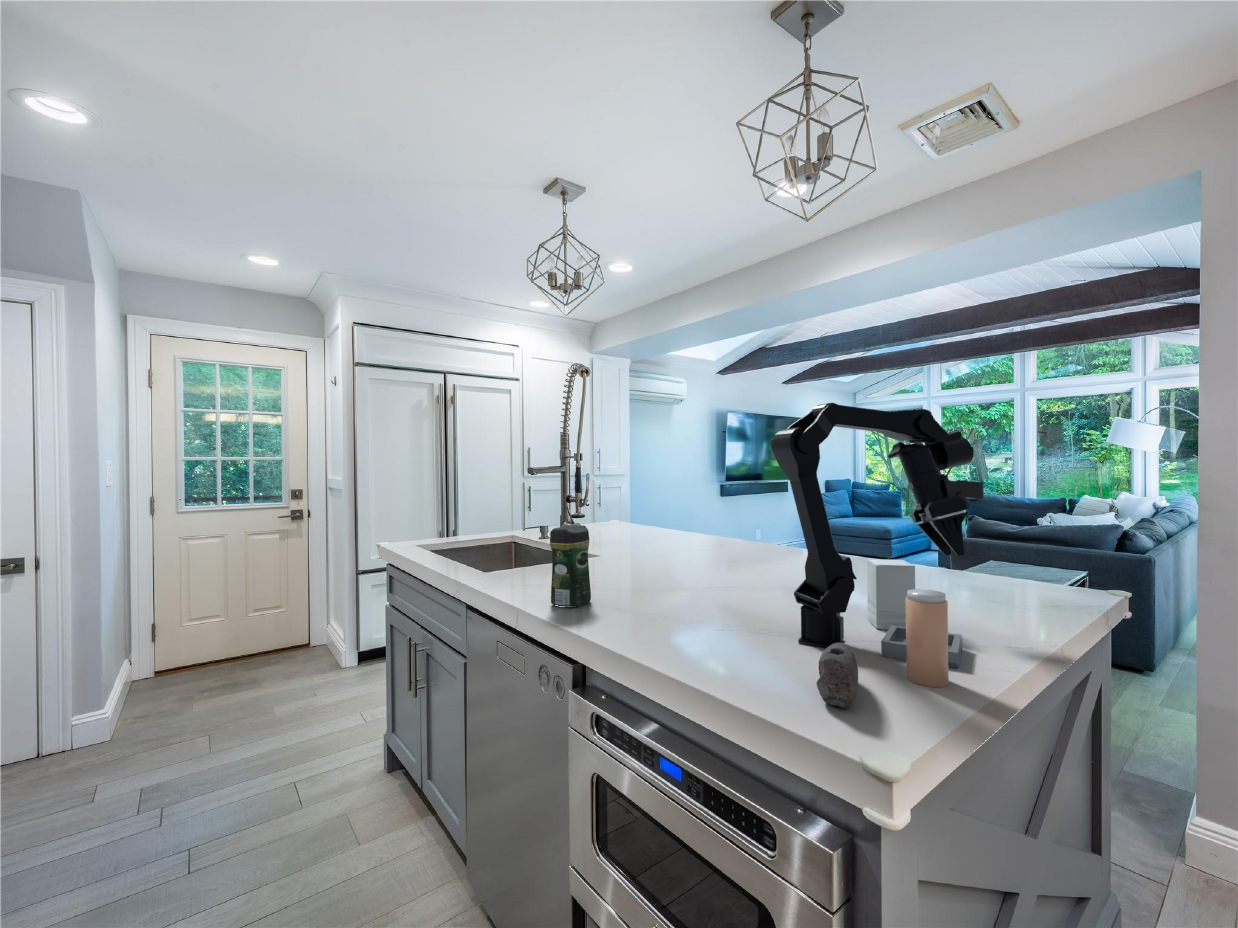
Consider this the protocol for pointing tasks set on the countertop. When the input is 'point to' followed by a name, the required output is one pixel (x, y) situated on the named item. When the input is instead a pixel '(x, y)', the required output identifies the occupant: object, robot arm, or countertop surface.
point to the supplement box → (888, 591)
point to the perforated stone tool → (838, 675)
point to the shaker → (927, 638)
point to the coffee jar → (570, 565)
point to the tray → (896, 645)
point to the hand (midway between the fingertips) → (954, 555)
